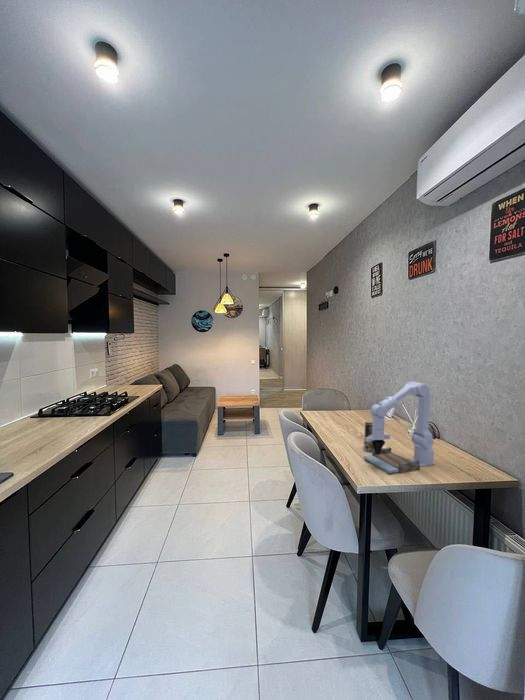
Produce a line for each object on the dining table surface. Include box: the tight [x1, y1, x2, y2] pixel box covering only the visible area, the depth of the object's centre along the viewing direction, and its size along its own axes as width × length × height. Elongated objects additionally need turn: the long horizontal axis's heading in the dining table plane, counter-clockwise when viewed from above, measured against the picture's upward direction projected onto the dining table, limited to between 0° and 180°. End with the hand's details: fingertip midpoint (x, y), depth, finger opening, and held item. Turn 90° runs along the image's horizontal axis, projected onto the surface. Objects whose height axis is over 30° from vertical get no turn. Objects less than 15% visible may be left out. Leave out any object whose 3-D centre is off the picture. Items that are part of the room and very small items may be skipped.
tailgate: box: [363, 454, 399, 474], centre depth 155 cm, size 1×19×6 cm
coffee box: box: [363, 421, 374, 453], centre depth 177 cm, size 9×6×16 cm
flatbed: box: [371, 447, 421, 474], centre depth 159 cm, size 13×20×4 cm, turn 21°
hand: (377, 453), depth 154 cm, fingers closed
